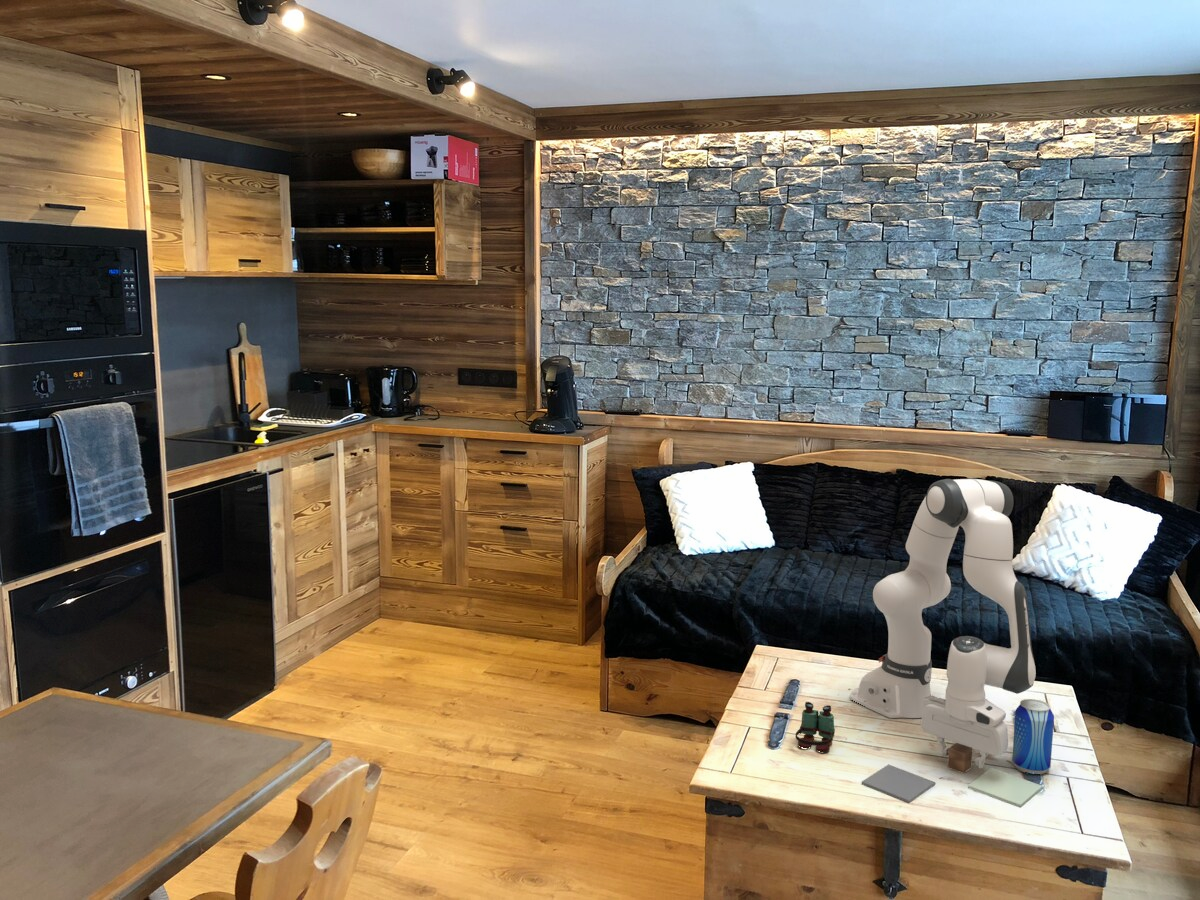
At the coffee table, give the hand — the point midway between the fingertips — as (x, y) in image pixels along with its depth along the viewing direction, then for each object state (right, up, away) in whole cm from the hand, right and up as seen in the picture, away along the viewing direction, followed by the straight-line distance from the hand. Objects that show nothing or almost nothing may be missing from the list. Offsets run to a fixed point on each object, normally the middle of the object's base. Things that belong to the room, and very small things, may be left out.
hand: (961, 760), depth 232 cm
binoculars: (-33, -1, +11) cm, 35 cm away
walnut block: (0, -2, 0) cm, 2 cm away
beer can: (+17, -2, 0) cm, 17 cm away
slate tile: (-18, -3, -8) cm, 19 cm away
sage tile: (+6, -3, -10) cm, 12 cm away
